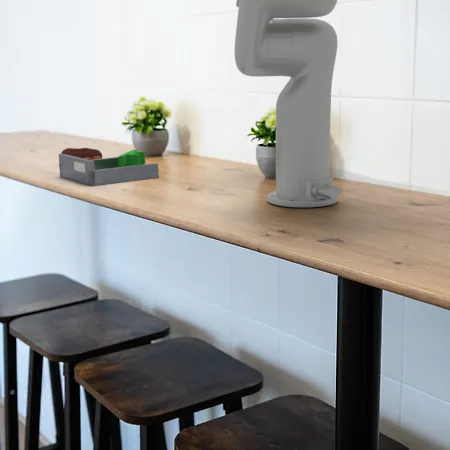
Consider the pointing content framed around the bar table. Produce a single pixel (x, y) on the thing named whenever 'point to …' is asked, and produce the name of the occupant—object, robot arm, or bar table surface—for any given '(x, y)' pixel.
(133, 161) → the green stepped block
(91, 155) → the donut
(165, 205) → the bar table surface
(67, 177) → the grey tray
